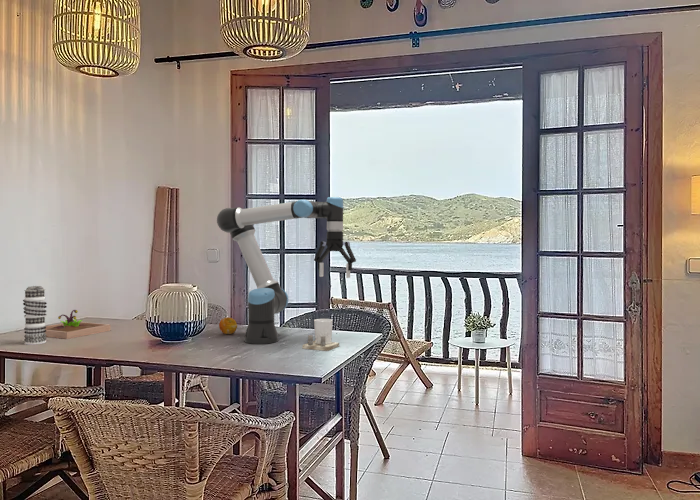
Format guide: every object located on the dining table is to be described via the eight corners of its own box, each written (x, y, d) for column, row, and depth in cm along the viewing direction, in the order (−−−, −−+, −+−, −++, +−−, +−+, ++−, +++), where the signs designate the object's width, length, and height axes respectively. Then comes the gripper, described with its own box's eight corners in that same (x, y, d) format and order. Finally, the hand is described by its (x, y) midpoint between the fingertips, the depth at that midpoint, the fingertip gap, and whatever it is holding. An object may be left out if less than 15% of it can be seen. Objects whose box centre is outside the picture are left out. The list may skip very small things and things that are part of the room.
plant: (102, 331, 279) (101, 309, 279) (63, 337, 263) (63, 314, 262) (79, 328, 290) (79, 306, 290) (41, 333, 274) (40, 310, 273)
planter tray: (30, 334, 268) (30, 328, 268) (75, 327, 291) (75, 321, 291) (67, 338, 258) (67, 332, 258) (110, 330, 281) (110, 324, 281)
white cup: (330, 345, 236) (330, 321, 235) (312, 344, 237) (312, 321, 237) (334, 341, 243) (334, 318, 243) (316, 341, 245) (316, 318, 245)
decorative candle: (20, 342, 248) (19, 286, 247) (43, 340, 255) (42, 285, 254) (27, 345, 242) (26, 287, 241) (50, 342, 249) (49, 286, 248)
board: (302, 348, 236) (302, 335, 236) (314, 344, 246) (314, 331, 246) (327, 350, 231) (327, 337, 231) (339, 346, 241) (339, 333, 241)
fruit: (234, 335, 267) (234, 318, 267) (217, 335, 267) (216, 318, 267) (238, 332, 276) (238, 316, 275) (221, 332, 276) (221, 316, 276)
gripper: (363, 231, 255) (362, 277, 256) (314, 231, 265) (314, 275, 266) (356, 230, 248) (356, 278, 249) (307, 230, 258) (306, 276, 259)
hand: (334, 277), depth 257 cm, fingers open, 13 cm apart
